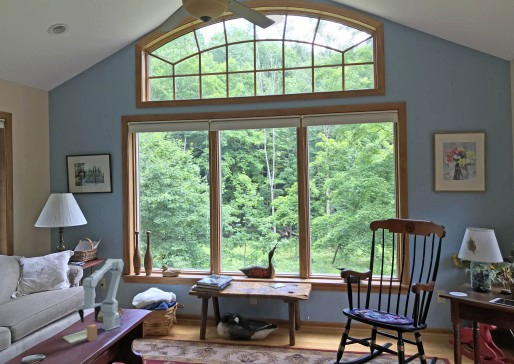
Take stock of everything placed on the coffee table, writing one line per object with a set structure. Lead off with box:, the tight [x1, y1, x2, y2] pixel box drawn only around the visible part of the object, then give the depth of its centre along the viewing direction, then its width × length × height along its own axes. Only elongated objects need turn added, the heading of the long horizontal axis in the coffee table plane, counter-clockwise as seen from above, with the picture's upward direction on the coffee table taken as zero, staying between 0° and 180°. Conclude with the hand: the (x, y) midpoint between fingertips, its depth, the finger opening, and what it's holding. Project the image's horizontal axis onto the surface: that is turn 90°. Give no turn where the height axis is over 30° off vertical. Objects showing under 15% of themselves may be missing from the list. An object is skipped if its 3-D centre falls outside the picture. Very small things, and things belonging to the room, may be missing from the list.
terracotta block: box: [86, 323, 98, 342], centre depth 223 cm, size 4×4×8 cm
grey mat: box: [62, 329, 87, 344], centre depth 227 cm, size 14×12×1 cm
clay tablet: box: [96, 307, 124, 323], centre depth 260 cm, size 14×5×20 cm
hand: (89, 320), depth 222 cm, fingers open, 7 cm apart
